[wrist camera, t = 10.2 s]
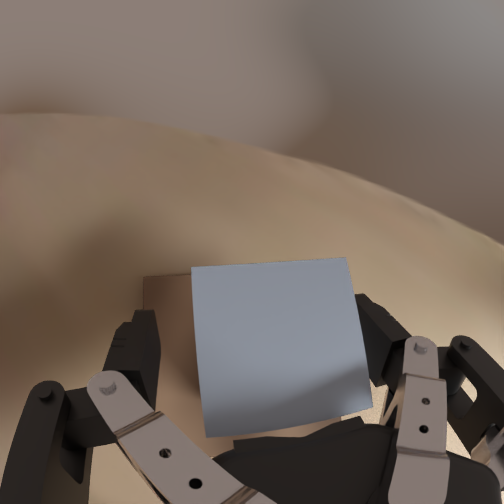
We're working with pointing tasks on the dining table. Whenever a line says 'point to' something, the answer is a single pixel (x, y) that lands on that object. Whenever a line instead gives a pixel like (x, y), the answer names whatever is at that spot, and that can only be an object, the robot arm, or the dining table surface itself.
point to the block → (277, 345)
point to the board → (190, 366)
